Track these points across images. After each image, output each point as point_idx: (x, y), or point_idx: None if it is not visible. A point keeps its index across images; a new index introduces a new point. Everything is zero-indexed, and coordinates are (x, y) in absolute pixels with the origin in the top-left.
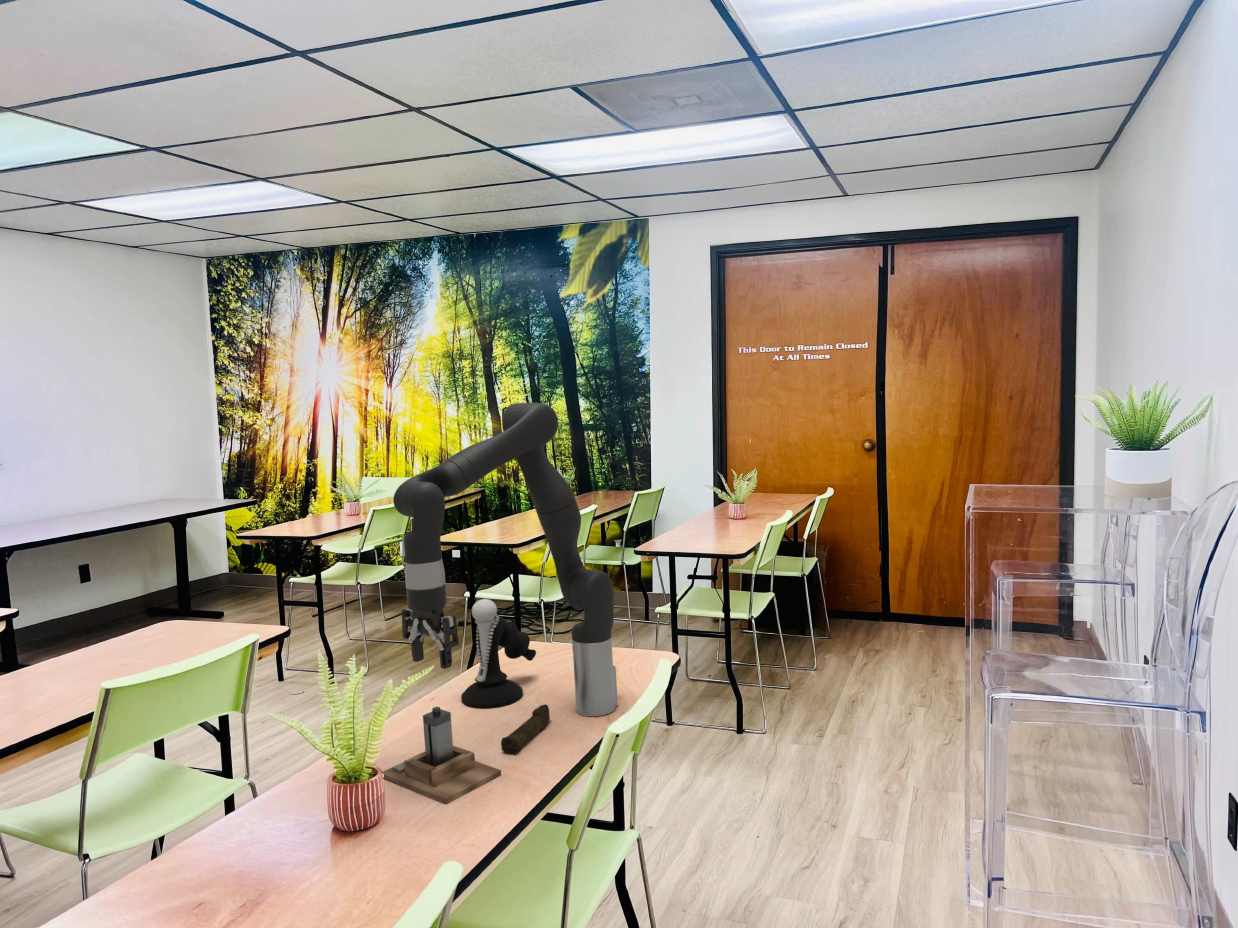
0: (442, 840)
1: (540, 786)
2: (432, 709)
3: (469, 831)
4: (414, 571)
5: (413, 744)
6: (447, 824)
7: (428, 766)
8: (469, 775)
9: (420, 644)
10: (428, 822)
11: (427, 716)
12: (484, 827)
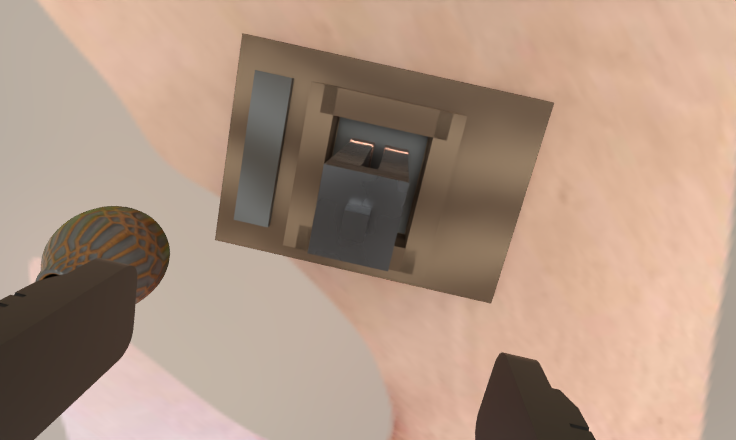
0: None
1: (707, 125)
2: (340, 235)
3: (621, 381)
4: None
5: (137, 14)
6: (550, 372)
7: None
8: (475, 168)
9: (17, 363)
10: None
11: (337, 257)
12: (648, 357)
